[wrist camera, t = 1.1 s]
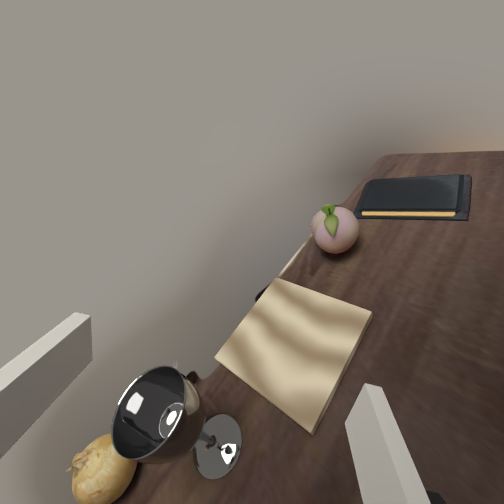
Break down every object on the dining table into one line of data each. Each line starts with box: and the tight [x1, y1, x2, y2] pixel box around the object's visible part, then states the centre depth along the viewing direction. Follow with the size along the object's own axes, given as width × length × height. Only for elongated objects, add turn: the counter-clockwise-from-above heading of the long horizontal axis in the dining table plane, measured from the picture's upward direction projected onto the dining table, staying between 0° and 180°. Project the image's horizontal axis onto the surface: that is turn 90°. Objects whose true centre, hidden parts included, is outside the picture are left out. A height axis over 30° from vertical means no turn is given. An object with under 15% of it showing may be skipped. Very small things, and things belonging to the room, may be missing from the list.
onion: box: [66, 433, 137, 504], centre depth 34 cm, size 8×8×7 cm
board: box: [215, 278, 372, 436], centre depth 40 cm, size 18×18×2 cm
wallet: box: [354, 174, 472, 221], centre depth 54 cm, size 20×2×15 cm
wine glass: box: [111, 365, 242, 480], centre depth 29 cm, size 8×8×15 cm
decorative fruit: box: [311, 204, 359, 254], centre depth 48 cm, size 9×8×10 cm
